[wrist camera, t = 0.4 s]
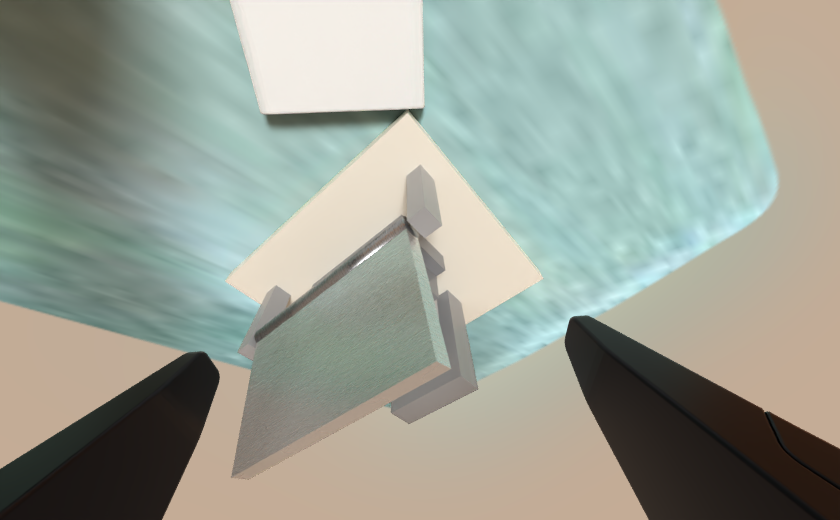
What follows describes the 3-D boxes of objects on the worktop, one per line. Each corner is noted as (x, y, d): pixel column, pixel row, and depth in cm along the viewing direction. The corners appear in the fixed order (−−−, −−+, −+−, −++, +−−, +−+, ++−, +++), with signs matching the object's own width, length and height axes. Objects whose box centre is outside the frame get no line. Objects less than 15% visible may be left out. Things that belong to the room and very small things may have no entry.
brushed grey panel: (256, 326, 20) (226, 477, 14) (400, 211, 16) (432, 359, 11) (274, 333, 21) (253, 479, 15) (416, 225, 17) (455, 370, 11)
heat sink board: (231, 272, 24) (165, 370, 17) (407, 108, 18) (409, 161, 12) (375, 368, 30) (367, 466, 24) (538, 269, 25) (587, 362, 18)
